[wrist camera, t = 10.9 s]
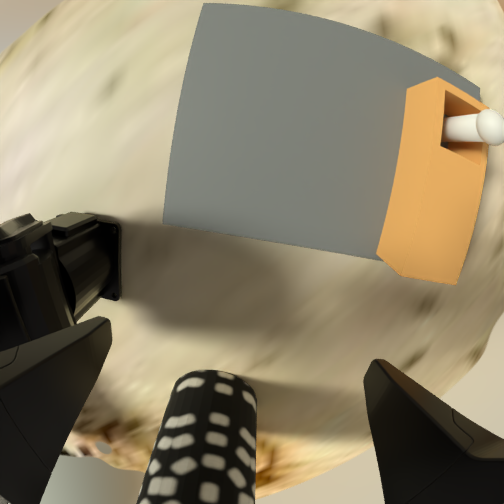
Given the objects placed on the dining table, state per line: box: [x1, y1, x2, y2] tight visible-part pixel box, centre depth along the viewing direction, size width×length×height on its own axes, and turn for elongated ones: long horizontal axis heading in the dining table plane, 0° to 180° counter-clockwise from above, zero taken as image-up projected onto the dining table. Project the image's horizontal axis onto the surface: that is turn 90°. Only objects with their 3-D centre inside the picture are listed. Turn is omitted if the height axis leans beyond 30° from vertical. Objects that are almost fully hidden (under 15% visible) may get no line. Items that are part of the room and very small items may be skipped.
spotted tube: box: [136, 370, 257, 504], centre depth 15 cm, size 8×8×20 cm
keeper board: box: [163, 3, 504, 261], centre depth 13 cm, size 16×22×9 cm
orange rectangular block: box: [376, 77, 490, 285], centre depth 15 cm, size 12×5×4 cm, turn 170°
